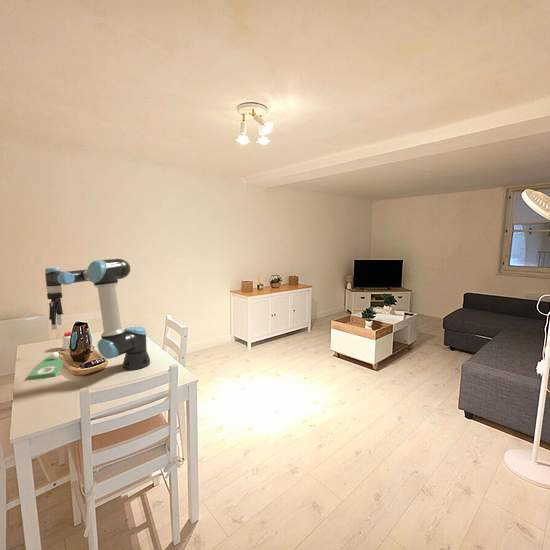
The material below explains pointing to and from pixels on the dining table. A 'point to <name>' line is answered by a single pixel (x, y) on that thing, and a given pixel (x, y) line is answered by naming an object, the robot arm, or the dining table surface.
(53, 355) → the ball
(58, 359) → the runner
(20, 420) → the dining table surface
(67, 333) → the pill bottle
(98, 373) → the dining table surface
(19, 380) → the dining table surface
